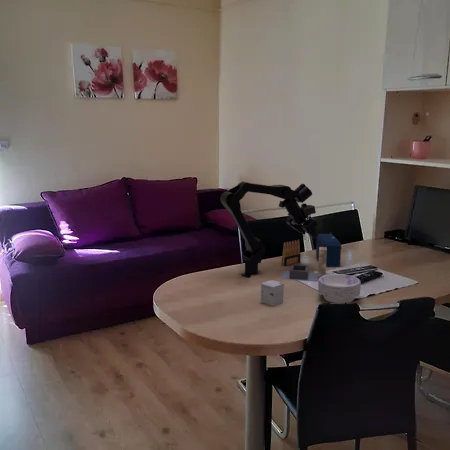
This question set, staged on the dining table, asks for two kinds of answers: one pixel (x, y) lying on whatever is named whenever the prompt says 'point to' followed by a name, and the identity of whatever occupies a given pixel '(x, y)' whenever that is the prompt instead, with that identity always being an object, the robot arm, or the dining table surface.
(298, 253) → the ammunition clip
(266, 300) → the skincare box
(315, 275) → the base board
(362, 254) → the dining table surface
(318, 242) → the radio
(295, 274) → the end cap
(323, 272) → the slat
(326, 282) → the paper bowls
